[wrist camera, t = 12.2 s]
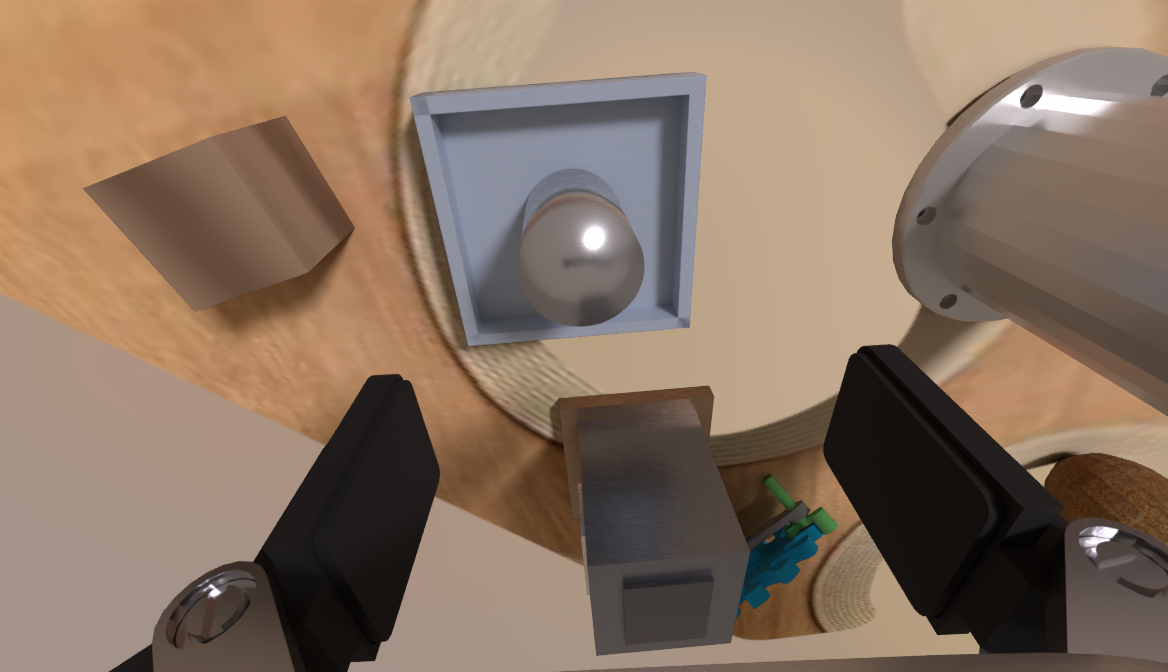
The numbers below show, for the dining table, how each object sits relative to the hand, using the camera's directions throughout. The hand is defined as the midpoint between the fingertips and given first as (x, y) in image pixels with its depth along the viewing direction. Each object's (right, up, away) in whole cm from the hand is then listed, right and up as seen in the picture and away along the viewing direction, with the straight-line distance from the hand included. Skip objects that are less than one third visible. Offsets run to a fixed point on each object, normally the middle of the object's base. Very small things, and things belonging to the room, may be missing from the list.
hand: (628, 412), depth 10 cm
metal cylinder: (-1, +7, +11) cm, 13 cm away
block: (-15, +8, +10) cm, 20 cm away
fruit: (+34, -7, +24) cm, 42 cm away
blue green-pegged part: (+11, -12, +25) cm, 30 cm away
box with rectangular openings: (+2, -6, +20) cm, 21 cm away
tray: (-2, +7, +12) cm, 14 cm away
